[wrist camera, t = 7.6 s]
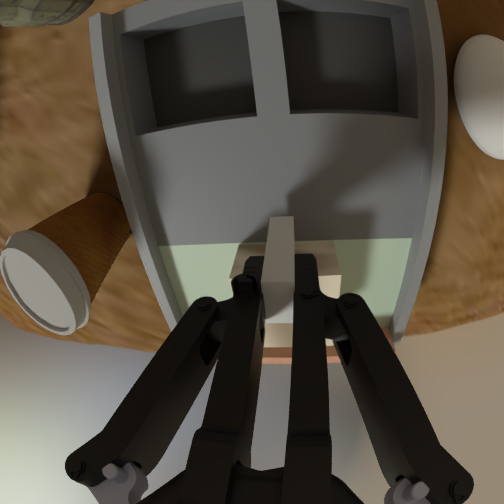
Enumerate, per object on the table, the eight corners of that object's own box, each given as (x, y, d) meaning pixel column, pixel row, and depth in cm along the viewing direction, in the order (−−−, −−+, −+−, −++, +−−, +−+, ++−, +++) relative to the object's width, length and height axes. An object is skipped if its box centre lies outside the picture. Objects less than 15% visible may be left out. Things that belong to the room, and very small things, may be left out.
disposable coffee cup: (73, 166, 23) (-14, 224, 13) (151, 193, 24) (73, 274, 14) (72, 240, 28) (11, 307, 18) (139, 270, 29) (87, 354, 19)
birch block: (250, 311, 25) (244, 347, 21) (238, 245, 21) (228, 278, 18) (329, 309, 24) (333, 345, 20) (333, 241, 20) (341, 275, 17)
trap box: (191, 309, 31) (173, 357, 26) (127, 26, 15) (75, 16, 9) (387, 305, 28) (402, 356, 22) (402, 1, 12) (443, -22, 6)
